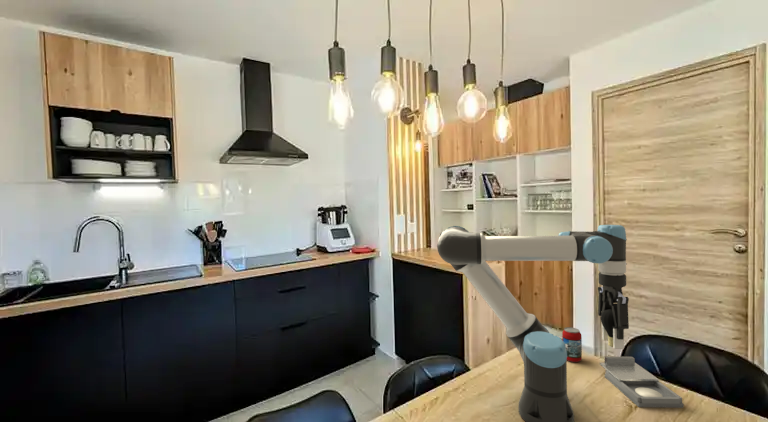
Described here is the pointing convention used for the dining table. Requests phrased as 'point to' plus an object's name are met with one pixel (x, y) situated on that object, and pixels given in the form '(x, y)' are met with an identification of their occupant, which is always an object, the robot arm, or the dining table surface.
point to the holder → (647, 393)
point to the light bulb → (608, 324)
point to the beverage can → (572, 344)
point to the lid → (627, 369)
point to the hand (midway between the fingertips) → (612, 344)
